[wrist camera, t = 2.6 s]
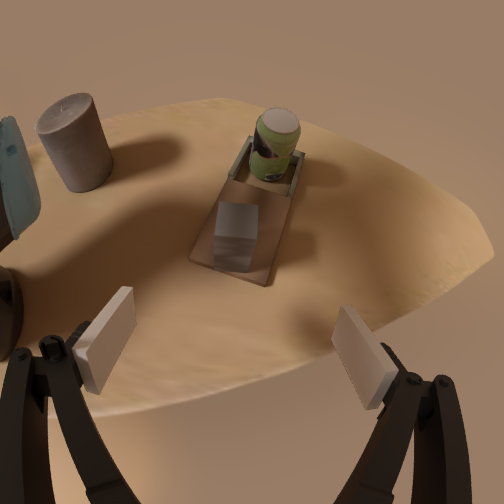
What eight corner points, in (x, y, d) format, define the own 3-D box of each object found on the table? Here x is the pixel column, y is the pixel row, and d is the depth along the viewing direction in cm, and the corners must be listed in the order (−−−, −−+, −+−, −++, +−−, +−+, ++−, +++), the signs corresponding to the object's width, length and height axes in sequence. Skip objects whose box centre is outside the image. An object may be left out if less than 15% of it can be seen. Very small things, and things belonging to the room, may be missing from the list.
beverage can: (280, 157, 45) (297, 101, 34) (289, 190, 41) (311, 131, 31) (244, 157, 44) (253, 98, 33) (250, 191, 40) (262, 128, 30)
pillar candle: (101, 145, 42) (80, 80, 28) (123, 170, 39) (99, 96, 26) (59, 174, 38) (27, 112, 25) (75, 204, 36) (36, 136, 22)
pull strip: (188, 263, 34) (180, 223, 25) (247, 143, 45) (254, 99, 37) (263, 290, 33) (280, 257, 25) (302, 161, 45) (318, 119, 36)
